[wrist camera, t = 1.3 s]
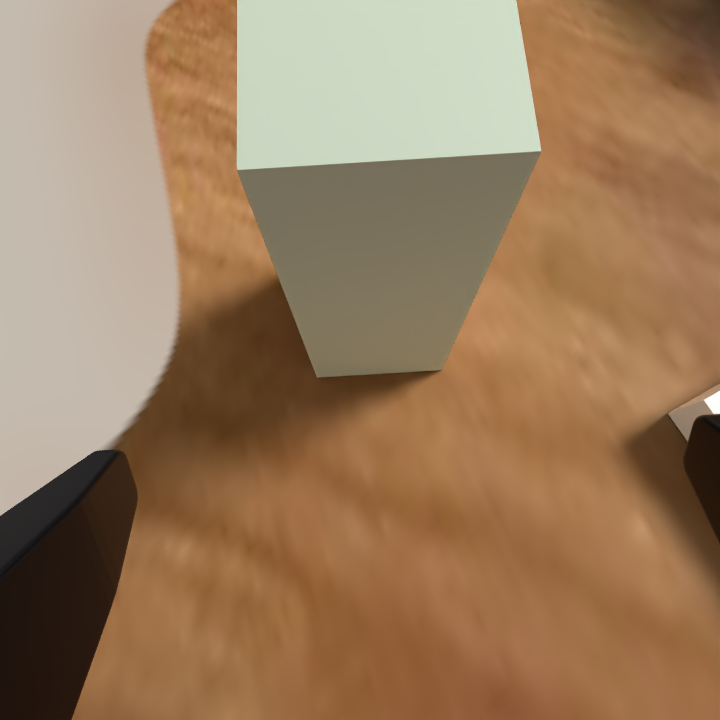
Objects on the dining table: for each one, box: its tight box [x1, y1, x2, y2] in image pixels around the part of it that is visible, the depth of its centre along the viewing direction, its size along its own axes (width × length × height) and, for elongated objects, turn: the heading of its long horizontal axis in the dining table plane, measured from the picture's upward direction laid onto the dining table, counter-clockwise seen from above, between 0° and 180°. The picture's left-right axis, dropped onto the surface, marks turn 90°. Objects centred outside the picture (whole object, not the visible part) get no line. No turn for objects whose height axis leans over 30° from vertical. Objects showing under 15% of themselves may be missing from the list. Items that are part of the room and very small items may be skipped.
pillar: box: [237, 0, 541, 378], centre depth 17 cm, size 5×5×14 cm
